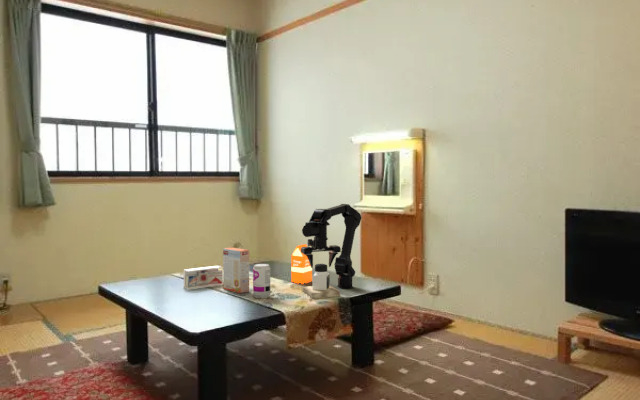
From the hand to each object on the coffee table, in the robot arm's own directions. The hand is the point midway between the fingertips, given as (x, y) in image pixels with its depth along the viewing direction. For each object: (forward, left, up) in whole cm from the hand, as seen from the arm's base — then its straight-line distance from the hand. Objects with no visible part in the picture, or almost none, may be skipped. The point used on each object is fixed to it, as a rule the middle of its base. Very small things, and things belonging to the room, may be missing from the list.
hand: (320, 267), depth 238 cm
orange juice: (0, -29, -13) cm, 32 cm away
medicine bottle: (0, 0, -11) cm, 11 cm away
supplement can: (+28, -5, -13) cm, 31 cm away
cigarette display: (+51, -37, -13) cm, 64 cm away
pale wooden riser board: (0, 0, -13) cm, 13 cm away
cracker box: (+37, -21, -13) cm, 44 cm away
